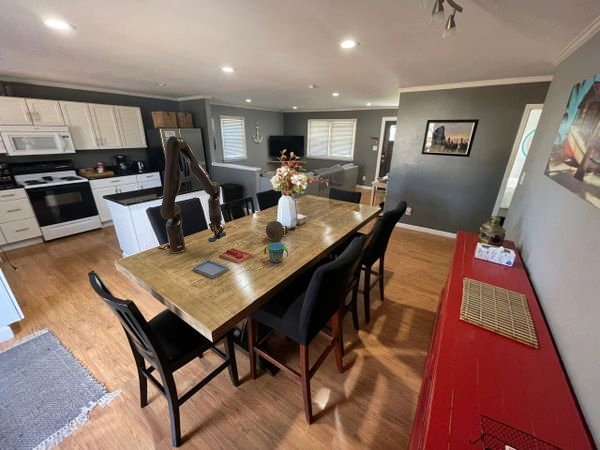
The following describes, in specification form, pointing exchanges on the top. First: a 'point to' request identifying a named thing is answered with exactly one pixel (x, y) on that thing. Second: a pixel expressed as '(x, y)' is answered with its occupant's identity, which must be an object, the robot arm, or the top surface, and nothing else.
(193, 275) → the top surface
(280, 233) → the brown ball
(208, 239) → the blue spoon
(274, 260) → the snack cup
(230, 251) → the red spoon
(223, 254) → the red tray
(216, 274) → the blue tray
